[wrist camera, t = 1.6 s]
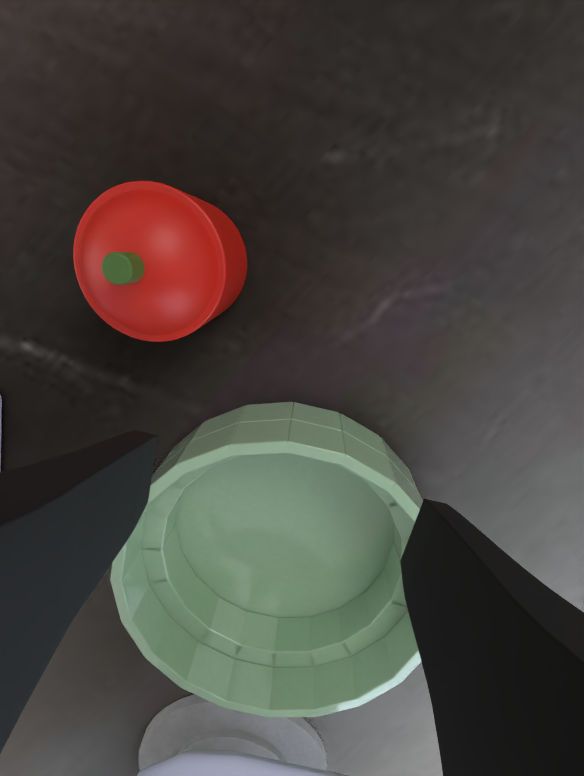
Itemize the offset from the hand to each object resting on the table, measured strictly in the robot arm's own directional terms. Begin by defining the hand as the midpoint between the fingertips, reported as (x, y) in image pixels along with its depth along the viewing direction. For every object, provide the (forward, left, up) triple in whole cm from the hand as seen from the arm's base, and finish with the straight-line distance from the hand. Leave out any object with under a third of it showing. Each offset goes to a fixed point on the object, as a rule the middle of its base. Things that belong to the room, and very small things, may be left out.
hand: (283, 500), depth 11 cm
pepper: (-6, +5, -10) cm, 12 cm away
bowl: (+1, -7, -10) cm, 12 cm away
